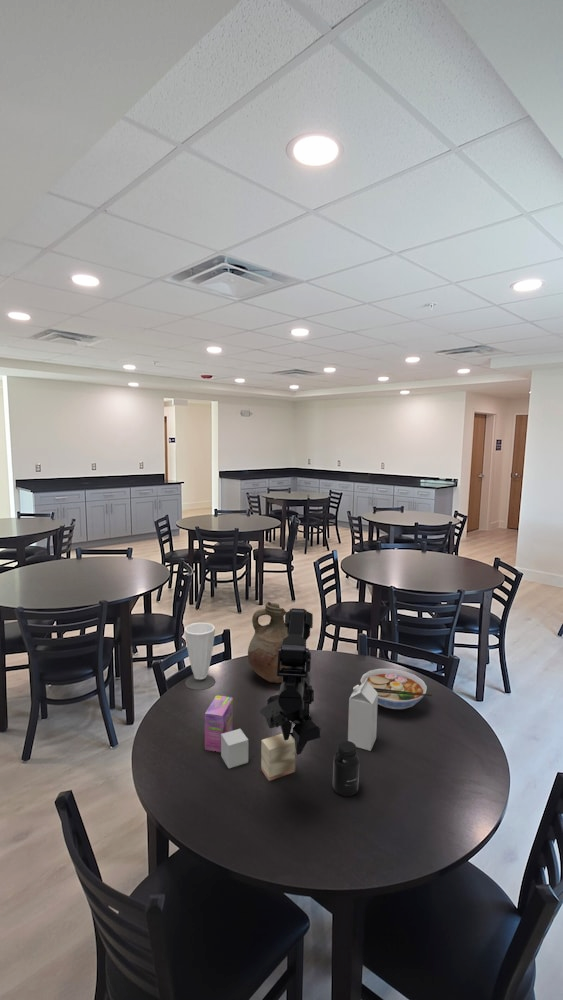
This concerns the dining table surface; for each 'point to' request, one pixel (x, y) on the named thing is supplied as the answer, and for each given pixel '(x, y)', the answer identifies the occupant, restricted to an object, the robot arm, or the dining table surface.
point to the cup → (200, 654)
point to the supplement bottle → (346, 769)
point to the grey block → (234, 748)
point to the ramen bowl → (396, 687)
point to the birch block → (277, 756)
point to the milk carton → (363, 716)
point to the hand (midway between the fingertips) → (292, 746)
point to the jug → (267, 642)
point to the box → (218, 722)
